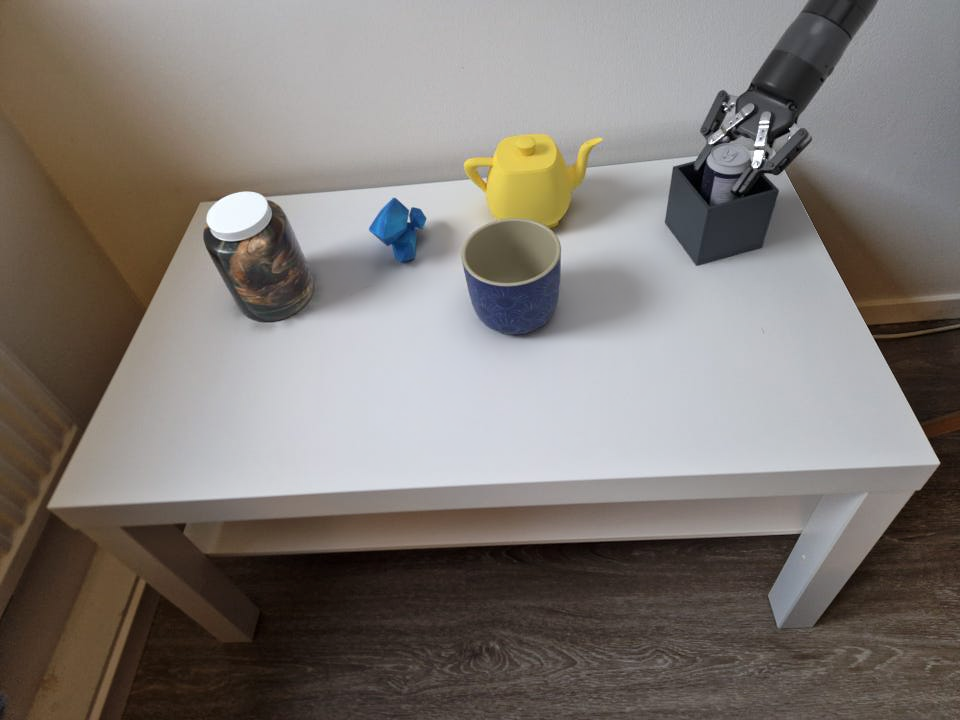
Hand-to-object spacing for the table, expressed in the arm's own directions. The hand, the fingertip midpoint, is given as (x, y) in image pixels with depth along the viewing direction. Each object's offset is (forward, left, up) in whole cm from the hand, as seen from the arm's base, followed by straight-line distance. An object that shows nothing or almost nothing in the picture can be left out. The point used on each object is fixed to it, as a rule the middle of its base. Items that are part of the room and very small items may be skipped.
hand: (716, 183), depth 88 cm
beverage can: (-2, -1, -8) cm, 9 cm away
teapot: (+20, -16, -10) cm, 28 cm away
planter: (+29, +3, -10) cm, 31 cm away
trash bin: (-2, -1, -10) cm, 10 cm away
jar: (+61, -13, -10) cm, 64 cm away
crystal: (+41, -15, -10) cm, 45 cm away
